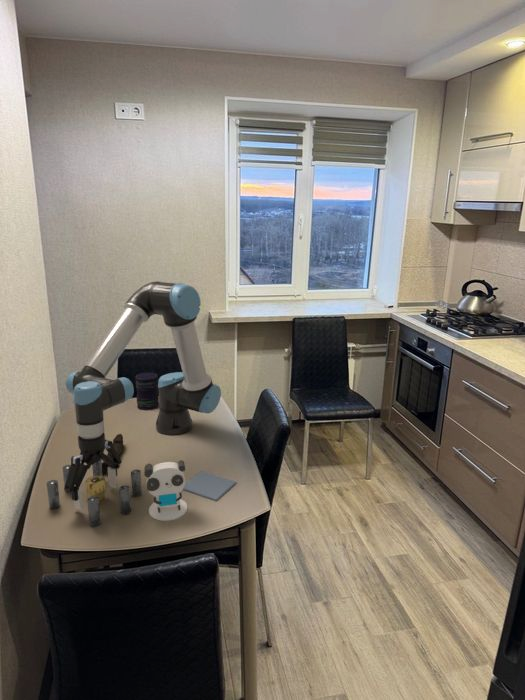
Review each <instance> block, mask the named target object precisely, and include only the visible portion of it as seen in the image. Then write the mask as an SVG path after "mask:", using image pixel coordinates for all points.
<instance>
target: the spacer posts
mask: <svg viewBox="0 0 525 700" xmlns="http://www.w3.org/2000/svg"><path fill="white" fill-rule="evenodd" d="M102 461H103V460H101V459H100V461H98V462H96V463H94V464H93V465H91V466H92V469H91V470H92V476H97V475H99V476H103V477H104V474H103V473H102V463H103V462H102ZM70 466H71V464H66V465H63V466H62V474H63V475H62V476H63V485H64V487H65V483H66V480H67V477H68V473H69V470H70ZM130 481H131V482H130V484H131V487H130V486H129V485H127V484H124V485H121V486H119V488H118V492H119V494H118V495H119V509H120V514H121V515H122V516H126V515H130V514H131V513H132V503H131V496H132V497H133V498H140V497H141V496H143V492H142V491H143V489H142V488H143V487H142V486H143V485H142V472H141V470H140V469H133V470H131V471H130ZM130 489H131V490H130ZM46 491H47V498H48V508H49V509H51V510H55V509H56V510H57V509H58V508H60V507H61V500H60V491H59V481H58V480H57V479H51V480H49V481H47V482H46ZM64 492H66V493H70V492H69V491H66V490H64ZM87 501H88V503H87V509H88V522H89V526H90V527H91V528H97V527H99V526H100V525H101V521H102V520H101V511H100V510H101V508H100V505H99V497H98V496H91V497H89V498H88V499H87V498H86V502H87Z"/></svg>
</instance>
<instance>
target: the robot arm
mask: <svg viewBox="0 0 525 700" xmlns="http://www.w3.org/2000/svg"><path fill="white" fill-rule="evenodd" d="M200 306H201V297H200V294H199V293H198V291H197V290H196V288H194V287H193V286H192V285H189V284H185V283H179V282H178V283H175V282H174V283H173V282H164V281H157V280H156V281H151V282H148V283H146V284H144V285H142V286H141V287H139V288H138V289H137V290H136V291H135V292H133V294H132V295H131V296H129V298H128V299H127V300H126V302H125V303H124V305H123V311H122V313H121V314H120V316H119V317H118V318H117V320H116V321H115V323H114V324H113V325H112V327H111V328H110V330H109V331H108V332H107V334H106V335H105V336H104V338H103V339H102V341H101V343H100V344H99V345H98V346H97V347H96V349H95V351H94V352H93V353H92V355H91V356H90V358H89V359H88V361H87V362H86V363H85V365H84V366H83V367H82V369H81V371H73V372H72V373H70V374H69V375H68V376H67V378H66V379H65V381H66V382H65V387H66V390H67V392H68V393H70V394H72V395H73V402H74V411H75V420H76V421H75V422H76V431H77V432H76V433H77V435H78V436H77V442H78V443H77V444H78V449H79V451H80V453H79V455H77V456H74V455H72V456H71V457H70V465H71V466H70V470H69V473H68V477H67V480H66V483H65V487H64V488H63V489H64V491H65V490H66V491H69V492H68V493H70V495H71V496H70V497H71V500H72V501H73V507H74V509H77V510H79V511H82V510H83V509H84V508H83V506H84V505H83V497H82V489H81V488H80V487H81V484H82V482H83V480H84V479H85V476H86V474H87V472H88V470H90V468H91V466H92V465H93V464H94V463H96V462H98V461H100V459H101V461H103V462H105V463H107V464H108V465H109V466H111V467H108V474H107V478H108V487H110V488H113V489H117V487H118V486H117V485H118V484H117V476H118V469H120V465H121V464H122V462H123V461H122V458H120V455H118V454H117V452H116V451H115V449H114V447H113V440H108V439H106V434H105V421H104V420H105V419H104V411H106V410H108V409H111V408H113V407H115V406H116V407H117V406H118V405H120V404H123V403H125V402H127V401H129V400H130V399H132V398H133V396H134V391H135V390H134V384H133V383H132V381H131V380H130V379H129V378H127V377H118V378H115V379H111V378H110V379H109V378H107V376H108V374H109V373H110V371H111V370H112V369H113V367H114V366H115V364H116V362H117V361H118V359H119V358H120V357H121V355H122V354H123V352H124V351H125V349H126V348H127V346H128V345H129V343H130V342H131V340H133V337H135V334H136V333H137V332H138V331H139V329H140V327H141V326H142V324H143V323H146V322H148V321H149V319H150V317H152V316H154V315H159V316H162V318H163V322H164V324H165V326H166V327H168V328H170V331H171V335H172V337H173V341H174V345H175V349H176V353H177V356H178V360H179V364H180V366H181V370H182V371H180V372H179V371H176V372H169V373H166V374H163V375H161V376H160V377H159V378H158V387H157V390H158V398H159V401H158V404H159V406H158V408H159V409H158V414H157V418H156V422H155V430H156V431H157V432H158V433H159V434H162V435H168V436H170V435H171V436H176V435H182V434H185V433H188V432H190V431H192V429H193V425H194V423H193V419H192V417H191V413H190V411H194V412H198V413H204V414H211V413H212V412H214V410H216V408H217V407H218V405H219V403H220V401H221V395H222V390H221V386H219V385H217V384H214V383H213V378H212V376H211V375H210V374H209V373H207V371H206V366H205V362H204V357H203V354H202V351H201V350H202V349H201V345H200V342H199V338H198V334H197V330H196V325H195V321H196V320H197V318H198V315H199V313H200V311H201V308H200ZM189 410H190V411H189ZM105 450H106V452H107V454H108V453H109V455H110V457H111V458H112V460H113V461H112V460H111V459H110V458H108V457H107V454H106V453H104V452H105Z"/></svg>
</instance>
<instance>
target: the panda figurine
mask: <svg viewBox="0 0 525 700" xmlns="http://www.w3.org/2000/svg"><path fill="white" fill-rule="evenodd" d="M143 471H144V472H143V473H144V477H146V490H147V491H148V493H149V494H150V495H152V496H153V497H154V498H153V503H151V505H150V506H149V508H148V514H149V516H150V517H151V518H153V519H155V520H157V521H163V522H164V521H165V522H168V521H173V520H177V519H179V518H181V517H183V516H184V515H185V514H186V513H187V510H188V504H187V502H186V501H185V500H183V499H182V498H183V494H182V493H181V492H182V491H184V490H183V488H184V486H185V483H186V478H185V471H186V465H185V461H184V460H183V459H181V460H178V461H177V462H173V461H165V462H159V463H156V464H155V465H152V464H151V463H146V464H145V466H144V470H143Z"/></svg>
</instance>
